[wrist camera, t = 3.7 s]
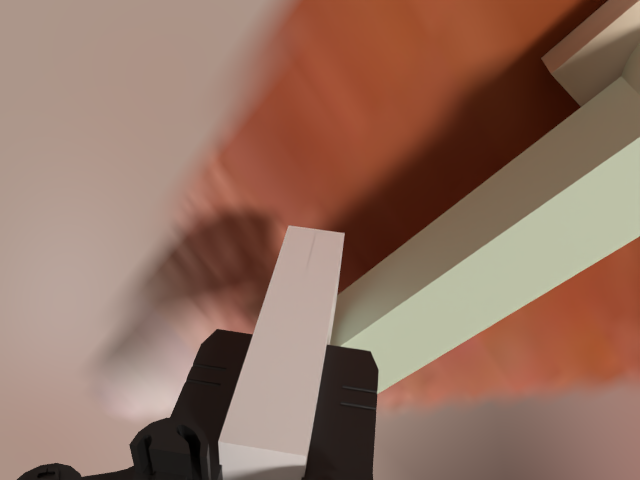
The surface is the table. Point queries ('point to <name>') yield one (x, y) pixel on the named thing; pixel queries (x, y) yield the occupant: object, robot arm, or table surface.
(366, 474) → the robot arm
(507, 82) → the table surface
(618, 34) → the board
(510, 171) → the leg
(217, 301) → the table surface
